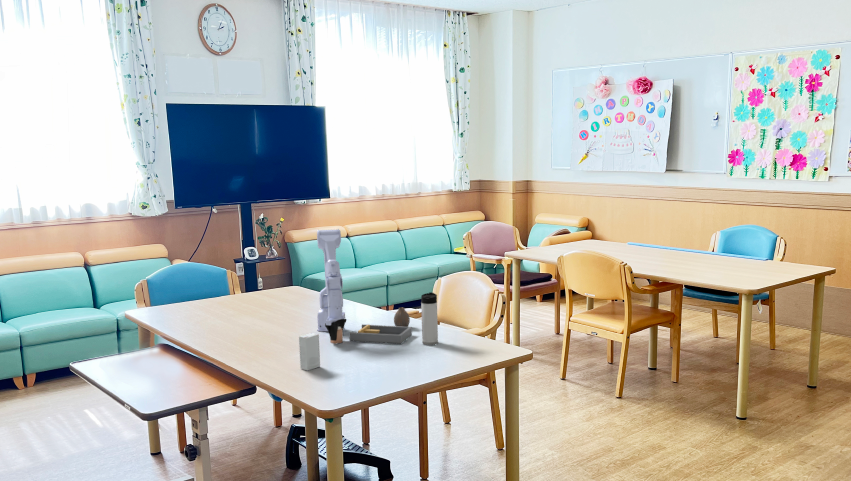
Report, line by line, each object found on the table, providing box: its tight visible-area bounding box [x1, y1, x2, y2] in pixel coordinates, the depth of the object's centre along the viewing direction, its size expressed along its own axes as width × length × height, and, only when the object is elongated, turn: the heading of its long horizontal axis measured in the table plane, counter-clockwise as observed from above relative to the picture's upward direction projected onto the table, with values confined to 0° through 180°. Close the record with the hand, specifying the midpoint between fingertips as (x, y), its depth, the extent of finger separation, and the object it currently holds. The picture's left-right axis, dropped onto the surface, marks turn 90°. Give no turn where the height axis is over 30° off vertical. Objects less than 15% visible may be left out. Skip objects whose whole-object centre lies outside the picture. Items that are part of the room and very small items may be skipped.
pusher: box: [357, 324, 380, 334], centre depth 283 cm, size 7×11×3 cm, turn 163°
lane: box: [349, 324, 413, 345], centre depth 282 cm, size 22×14×4 cm, turn 73°
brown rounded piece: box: [393, 307, 411, 327], centre depth 298 cm, size 7×7×9 cm
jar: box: [329, 326, 344, 345], centre depth 278 cm, size 5×5×6 cm
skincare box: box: [298, 332, 321, 371], centre depth 244 cm, size 6×4×12 cm
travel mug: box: [420, 291, 439, 346], centre depth 272 cm, size 6×7×20 cm
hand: (336, 338), depth 278 cm, fingers closed on jar, 5 cm apart
